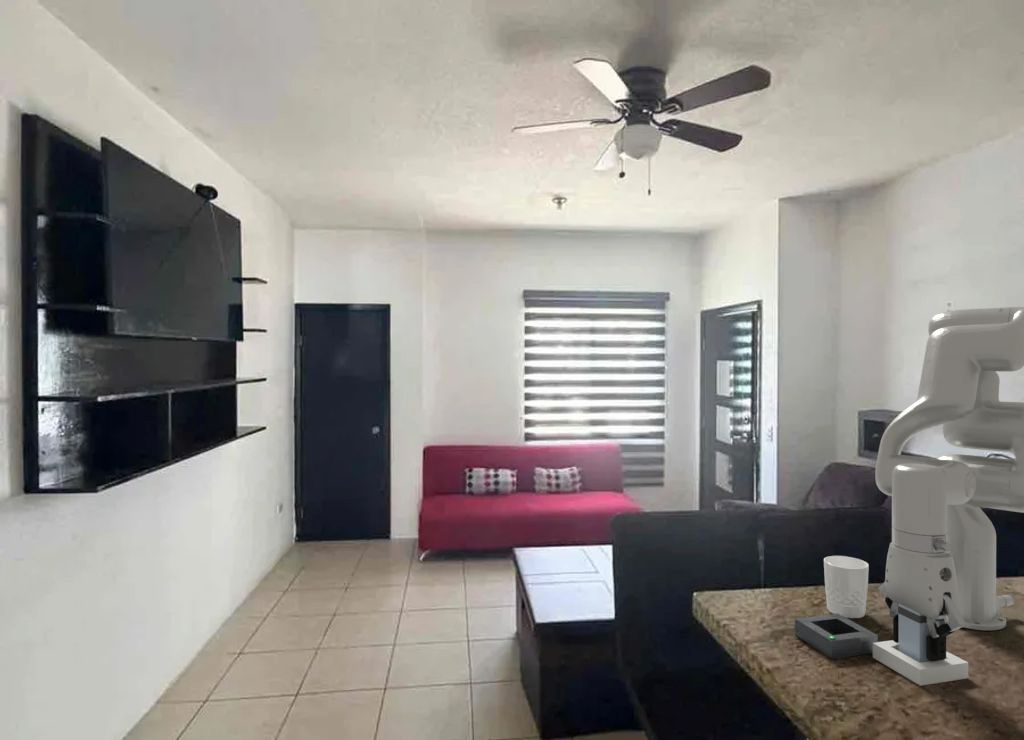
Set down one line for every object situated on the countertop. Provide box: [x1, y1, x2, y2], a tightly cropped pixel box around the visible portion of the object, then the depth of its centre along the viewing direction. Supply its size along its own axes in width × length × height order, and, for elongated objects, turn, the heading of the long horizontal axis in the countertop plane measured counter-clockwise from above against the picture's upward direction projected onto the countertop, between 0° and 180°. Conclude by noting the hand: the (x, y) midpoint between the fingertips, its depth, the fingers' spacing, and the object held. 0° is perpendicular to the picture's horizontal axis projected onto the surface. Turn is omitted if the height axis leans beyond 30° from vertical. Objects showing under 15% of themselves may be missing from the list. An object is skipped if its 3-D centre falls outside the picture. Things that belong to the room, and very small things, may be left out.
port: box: [794, 613, 879, 660], centre depth 109 cm, size 9×9×3 cm
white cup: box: [823, 555, 870, 619], centre depth 122 cm, size 8×8×10 cm
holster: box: [872, 639, 969, 686], centre depth 100 cm, size 9×9×2 cm
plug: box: [898, 604, 940, 663], centre depth 100 cm, size 4×4×10 cm
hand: (918, 649), depth 100 cm, fingers open, 5 cm apart
